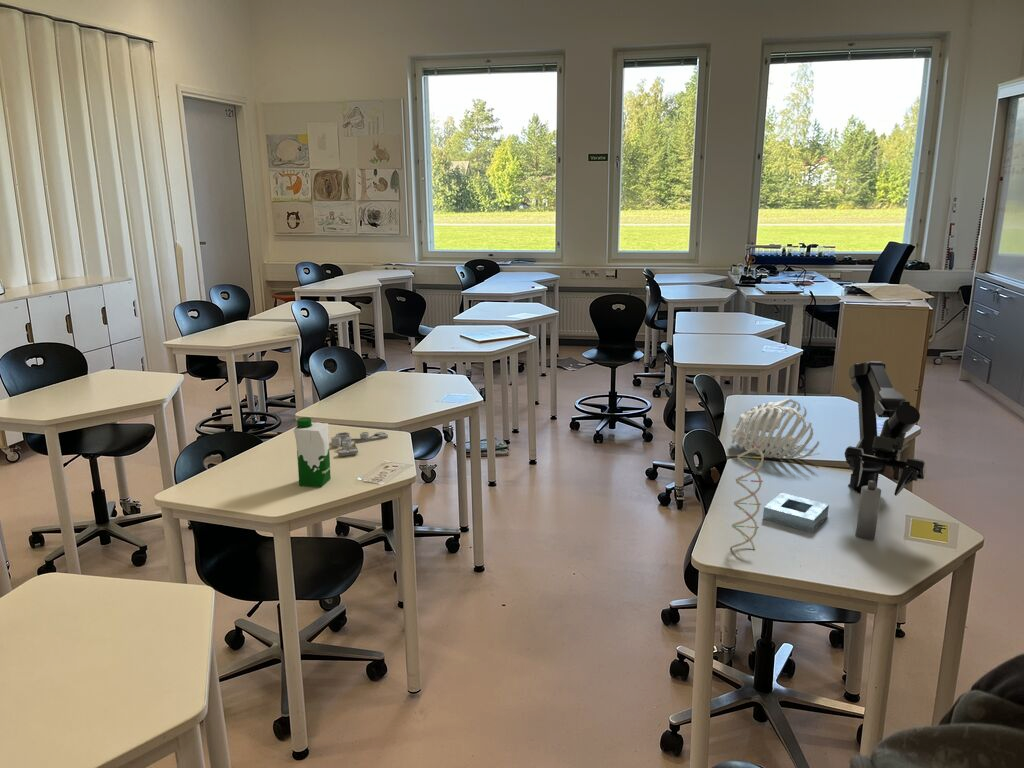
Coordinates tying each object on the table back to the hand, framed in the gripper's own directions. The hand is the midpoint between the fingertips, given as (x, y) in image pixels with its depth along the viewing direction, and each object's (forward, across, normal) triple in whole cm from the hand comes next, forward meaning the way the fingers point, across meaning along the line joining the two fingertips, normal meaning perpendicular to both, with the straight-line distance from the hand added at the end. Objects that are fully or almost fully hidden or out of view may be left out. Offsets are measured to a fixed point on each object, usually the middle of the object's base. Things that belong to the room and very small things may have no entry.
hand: (875, 490), depth 188 cm
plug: (+11, 0, +5) cm, 12 cm away
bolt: (+2, -51, +15) cm, 53 cm away
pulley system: (+37, -159, -20) cm, 165 cm away
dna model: (+30, -22, -14) cm, 40 cm away
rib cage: (-24, -42, +40) cm, 63 cm away
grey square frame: (+11, -18, +5) cm, 22 cm away
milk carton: (+59, -140, -43) cm, 157 cm away
